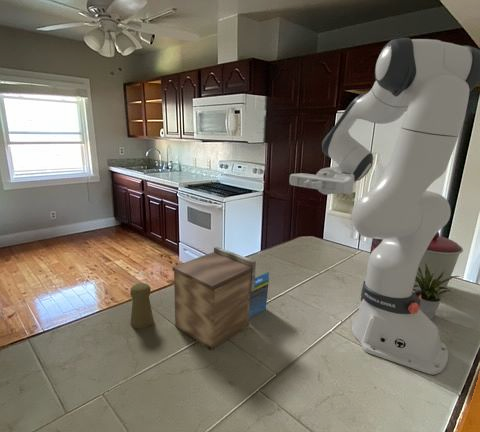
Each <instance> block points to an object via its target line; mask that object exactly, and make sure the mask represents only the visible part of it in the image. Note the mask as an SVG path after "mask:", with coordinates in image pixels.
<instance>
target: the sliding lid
mask: <svg viewBox="0 0 480 432" xmlns="http://www.w3.org/2000/svg"><path fill="white" fill-rule="evenodd" d="M256 266H257V262H256V260H254V259H252V258H248V257H245V256H243V255H240V254H237V253H235V252H232V251H229V250H226V249H225V248H224V249H223V248H221V247H218V246H215V247H213V251H212V252H209V253H207V254H204V255H202V256H199V257H196V258H193V259H191V260H188V261H185V262H182V263H179V264H177V265H174V266H172V272H173V273H174V272H176V273H178V274H180V275H182V276H184V277H186V278H188V279H190V280H192V281H194V282H196V283H198V284H200V285H202V286H204V287H206V288H208V289H210V290H214V289H216V288H218V287H220V286H222V285H224V284H226V283H228V282H230V281H232V280H234V279H236V278H238V277H241V276H243V275H245V274H247V273H249V272H251V286H250V292H253V291H254V286H255V277H256Z"/></svg>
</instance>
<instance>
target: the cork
mask: <svg viewBox="0 0 480 432" xmlns="http://www.w3.org/2000/svg"><path fill="white" fill-rule="evenodd" d="M151 289H152V288H151V286H150V284H148V283H145V282H140V283H139V282H137V283H135V284H133V285H132V287H130V291H129V292H130V293H129V294H130V297H131V298H132V301H131V302H132V305H131V314H130V326H131V327H132V328H134V329H138V330H139V329H145V328H148V327H150V326H151V325H152V324H154V314H153V311H152V306H151V301H150V295H151V292H152V291H151Z"/></svg>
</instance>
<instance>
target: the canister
mask: <svg viewBox="0 0 480 432" xmlns="http://www.w3.org/2000/svg"><path fill="white" fill-rule="evenodd" d="M463 252H464V249H463V247H462V246H461V245H459V244H458V243H457V242H456V241H454V240H452V239H450V238H448V237H443V236H441V235H440V232H439V231H438V232H437V233H436V235H435V236H434V238H433V239H432V241H431V242H430V244H429V246H428V248H427V249H426V251H425V253H424V255H423V257H422V259H421V261H420V264H419V267H420V269H421V272H422V275H423V277H425V265H424V263H426V265H427V267H428V269H429V271H430V276H431V275H432V274H434V273H435V274H434V275H433V277H432V280H431V283H432V281H433V279H438V277H439V276H440V274H441V273H442V272H443V271H444V270H445V272H444V274H443V276H442V277H441V279H440V280H439V281H441V280H445V279H447V278H449V277H452V274H453V272H454V270H455V267H456V264H457V261H458V259H459V256H460V254H462V253H463ZM438 265H439V266H438ZM437 266H438V267H437ZM436 267H437V268H436ZM435 268H436V269H435ZM433 271H434V272H433ZM417 272H418V273H419V275H420V276H421V274H420V272H419V269H418V271H417ZM436 272H437V273H436ZM418 273H417V277H419V275H418ZM419 278H420V277H419ZM421 278H422V277H421ZM421 278H420V280H421ZM421 281H422V280H421ZM449 281H450V280H448V281H446V282H444V283H443V284H441V285H440V286H439V287H445V288H447V286H448V284H449ZM422 283H423V282H422ZM431 283H430V286H431ZM414 284H415V285H418V286H417V287H414V288H413V291H414V290H415V291H416V290H421V289H420V287H419V284H418V282H417V281H415V283H414ZM429 289H430V288H429ZM442 291H445V289H440V291H439V292H438V293H440V292H442ZM440 294H441V293H440Z"/></svg>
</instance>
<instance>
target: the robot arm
mask: <svg viewBox="0 0 480 432" xmlns="http://www.w3.org/2000/svg"><path fill="white" fill-rule="evenodd" d="M374 78H375V81H374V83H373V85H372V88H371V89H370V90H369V91H368V92H367V93H363V92H362V93H361V94H359V95H358V96H356V97H355V98H354V99H353V100H352V101H351V102H350V103H349V105H348V106H347V108H346V109H345V110H344V112H343V113H342V114H341V116H340V117H339V119H338V120H337V121H336V123H335V124H334V126H333V127H332V128H331V130H330V131H329V132H328V133H327V134H326V136H325V137H324V138H323V140H322V141H321V150H322V153H323V155H325V156H327V157H328V158H330V159H331V160H332V161H334V162H335V163H336V164H337V166H333V167H331V166H330V167H325V168H321V169H319V171H317V173H316V174H311V173H302V172H301V173H291V174H290V175H289V185H291V186H294V187H300V188H307V189H312V190H313V189H314V190H317V191H318V192H319V193H320V194H322V195H336V194H337V195H338V194H339V195H352V194H353V191H354V186H355V183H356V182H358V181H361V179H363V178H364V177H365V176H366V175H367V174H368V173H369V171H370V170H371V169H372V167H373V163H374V156H373V153H372V152H371V151H370V150H369V149H367V147H365V146H364V145H363V144H361V143H360V142H359V141H357V140H356V139H355V138H354V137H353V136H352V135H351V134H350V133H349V130H350V129H352V126H353V125H354V124H355V122H356V121H357V120H363V121H367V122H370V123H373V124H379V125H380V124H381V125H382V124H389V123H393V122H396V121H397V120H399V119H400V118H401V117H402V116H403V115H404V118H403V119H402V123H401V125H400V126H401V127H400V129H399V133H398V135H397V140H396V142H395V145H394V148H393V151H392V154H391V158H390V160H389V162H388V164H387V166H386V168H385V169H384V172H383V173H382V174H381V176H380V178H379V179H378V180H377V181H376V183H375V184H374V185H373V187H371V189H370V190H369V191H368V192H366V193H365V194H363V196H361V197H360V198H358V199H357V200H355V201H356V202H355V203H354V205H353V207H352V211H351V221H352V225H353V227H354V228H355V230H356V232H357V233H358V234H360V235H361V236H363V237H365V238H369V239H372V238H374V239H383V241H382V242H381V243H380V245H379V246H378V247H376V248H375V249H374V250H373V251H372V252H371V254H370V253H369V257H368V262H367V267H366V268H367V269H366V275H365V280H364V281H363V283H362V285H361V291H360V305H359V309H358V311H357V314H356V317H355V319H354V320H353V322H352V325H351V333H352V334H353V336H354V337H355V338H356V340H358V342H359V343H360V344H361V347H362V350H363V351H364V352H366V353H368V354H370V355H373V356H376V357H378V358H382V359H385V360H388V361H391V362H394V363H396V364H399V365H401V366H405V367H408V368H410V369H414V370H417V371H419V372H422V373H425V374H428V375H431V376H433V375H437V374H439V373H441V372H443V371H444V370H445V368H446V367H447V364H448V361H449V350H448V348H447V346H446V344H445V343H443V342H442V341H441V337H440V331H439V328H438V326H437V325H436V324H435V323H434V322H433V321H432V319H429V318H428V317H427V316H426V315H425V314H424V313H423V312H422V311H421V310H420V309H419V307H420V302H421V295H420V296H419V297H417V295H416V294H415V293H414V289H413V288H414V283H415V279H416V275H417V271H418V267H419V264H420V261H421V259H422V257H423V255H424V253H425V251H426V249H427V248H428V246H429V244H430V242H431V241H432V239H433V238H434V236H435V235H436V233H437V232H439V231H440V230H441V229H442V228H444V227H445V226H446V225H448V222H449V221H450V218H451V215H452V214H451V213H452V212H451V205H450V203H449V201H448V200H447V198H446V197H444V196H443V195H441V194H439V193H437V192H433V191H429V190H428V188H430V186H431V185H432V184H433V183H434V182H435V181H436V180H437V179H439V178H441V177H442V176H443V175H444V174H445V172H446V171H447V168H448V166H449V162H450V160H451V158H452V154H453V153H454V150H455V146H456V144H457V142H458V138H459V136H460V132H461V130H462V127H463V124H464V121H465V117H466V113H467V108H468V103H469V97H470V93H471V92H472V91H473V90H474V89H475V88H476V87H477V86H478V84H480V49H478V48H476V47H473V46H471V45H460V44H455V43H453V42H448V41H447V42H446V41H442V40H439V39H430V38H412V39H411V38H410V37H400V38H395V39H391V40H389V42H387V43H386V44H385V45H384V46H383V48H382V49H381V51H380V53H379V55H378V57H377V59H376V63H375V68H374Z"/></svg>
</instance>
